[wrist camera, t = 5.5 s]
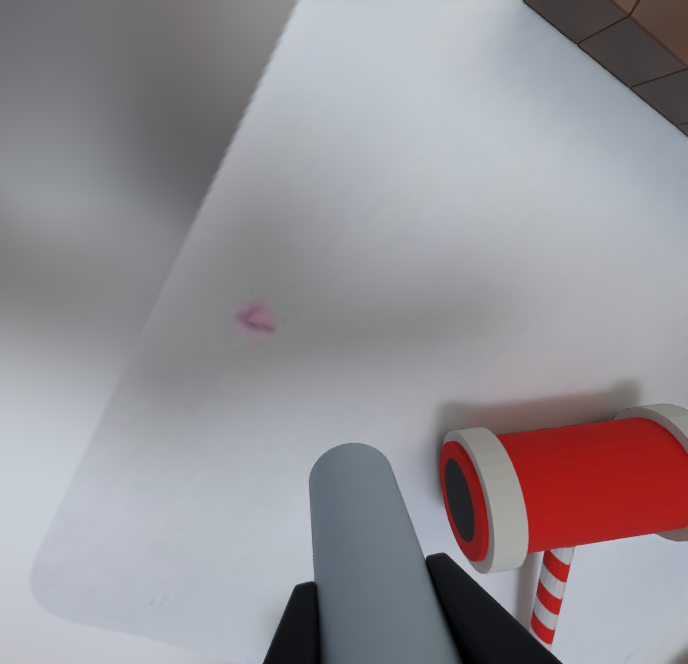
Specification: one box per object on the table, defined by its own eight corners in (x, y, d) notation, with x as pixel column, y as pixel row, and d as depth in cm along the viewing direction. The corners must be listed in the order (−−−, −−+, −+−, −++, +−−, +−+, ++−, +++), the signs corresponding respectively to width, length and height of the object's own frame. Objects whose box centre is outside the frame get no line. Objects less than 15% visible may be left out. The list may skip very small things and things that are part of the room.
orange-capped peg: (411, 491, 13) (774, 1382, 3) (330, 532, 13) (442, 1516, 3) (372, 421, 12) (707, 1351, 2) (285, 465, 12) (257, 1533, 2)
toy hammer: (596, 674, 31) (672, 791, 25) (437, 705, 29) (476, 836, 23) (642, 382, 24) (763, 445, 18) (435, 408, 22) (490, 485, 16)
